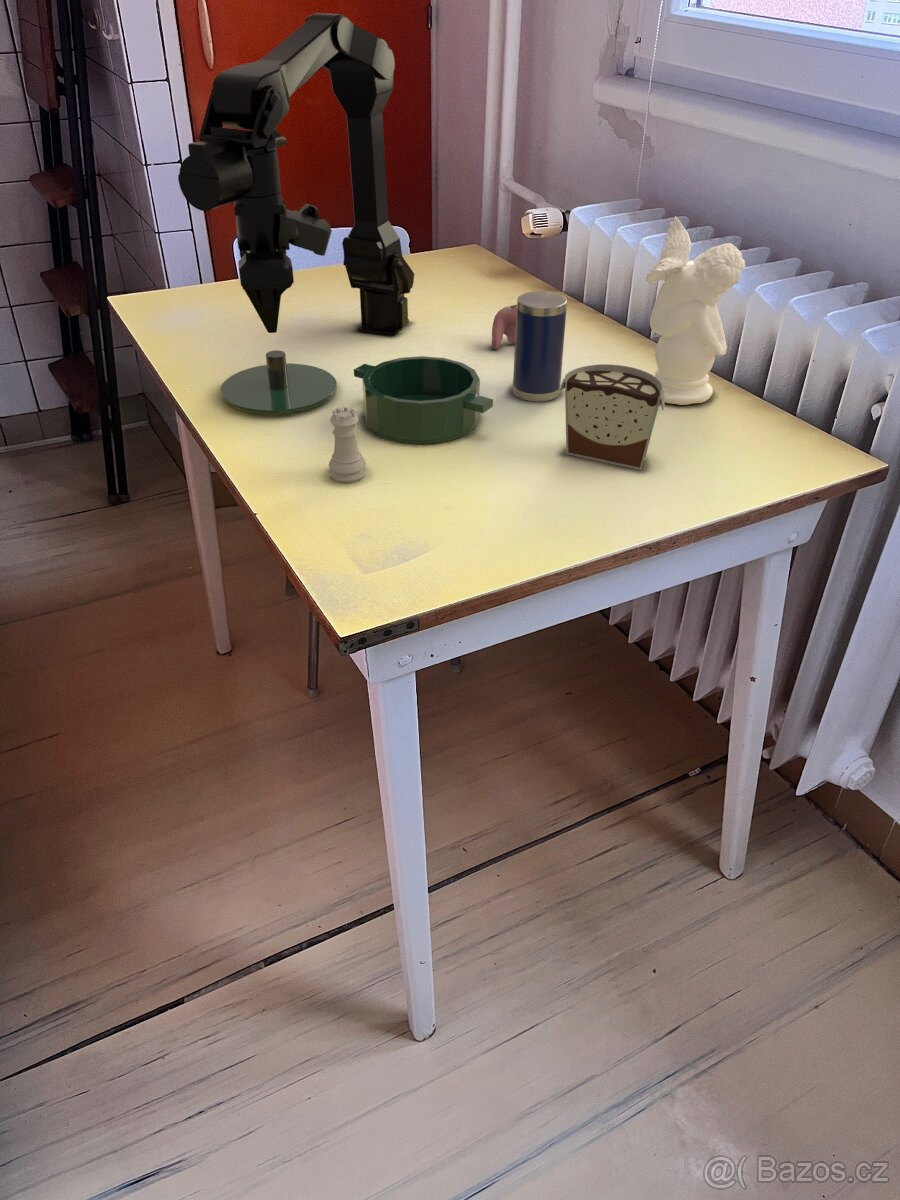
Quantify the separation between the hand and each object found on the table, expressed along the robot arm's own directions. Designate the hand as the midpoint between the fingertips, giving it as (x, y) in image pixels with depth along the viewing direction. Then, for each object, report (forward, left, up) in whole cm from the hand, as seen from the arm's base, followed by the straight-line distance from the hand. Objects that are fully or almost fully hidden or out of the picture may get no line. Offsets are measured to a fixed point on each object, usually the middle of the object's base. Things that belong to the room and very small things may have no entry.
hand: (270, 319), depth 121 cm
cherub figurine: (+50, +17, -11) cm, 54 cm away
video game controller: (+27, +28, -11) cm, 40 cm away
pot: (+21, -1, -10) cm, 23 cm away
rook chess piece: (+18, -18, -10) cm, 27 cm away
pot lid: (0, 0, -10) cm, 10 cm away
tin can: (+33, +12, -10) cm, 37 cm away
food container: (+46, -2, -11) cm, 47 cm away
